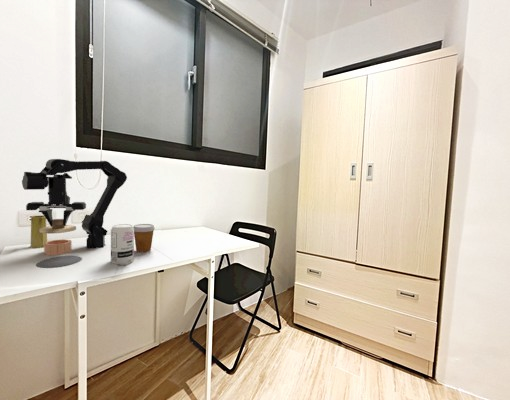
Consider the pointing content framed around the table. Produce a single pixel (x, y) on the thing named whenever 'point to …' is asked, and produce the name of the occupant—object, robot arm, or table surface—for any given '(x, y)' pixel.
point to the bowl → (57, 247)
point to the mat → (59, 261)
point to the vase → (36, 236)
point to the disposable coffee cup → (143, 237)
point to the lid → (57, 227)
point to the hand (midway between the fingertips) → (58, 226)
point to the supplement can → (122, 244)
